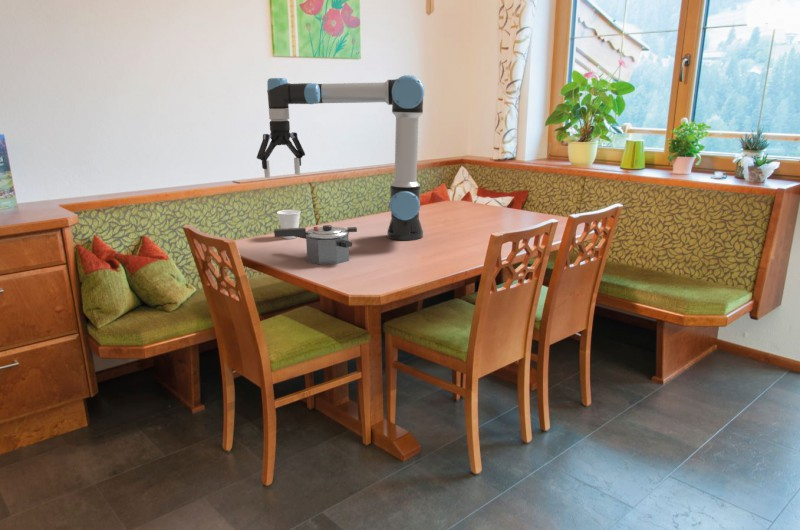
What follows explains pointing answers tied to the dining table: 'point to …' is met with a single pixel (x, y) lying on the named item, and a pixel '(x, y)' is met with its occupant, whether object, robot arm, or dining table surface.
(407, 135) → the robot arm
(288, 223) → the cup
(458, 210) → the dining table surface
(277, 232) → the lid
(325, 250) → the cooker pot
